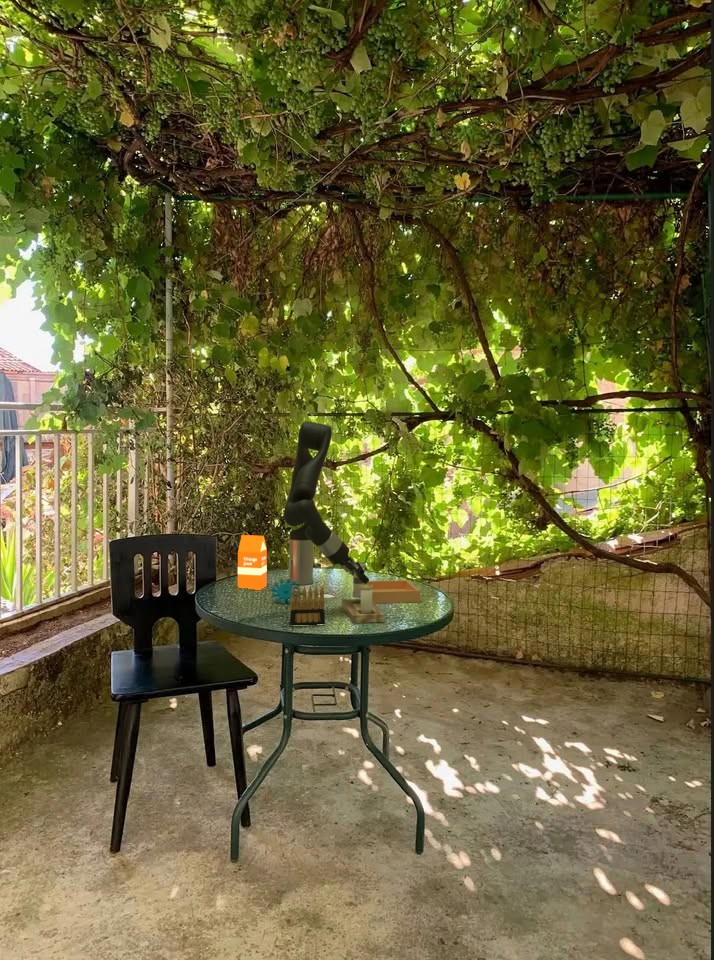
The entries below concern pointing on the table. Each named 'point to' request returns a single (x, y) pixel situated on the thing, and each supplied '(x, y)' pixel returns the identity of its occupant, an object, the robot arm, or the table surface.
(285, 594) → the gear
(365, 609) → the fuse
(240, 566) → the orange juice
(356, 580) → the white domed cylinder
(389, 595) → the parts tray
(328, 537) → the robot arm
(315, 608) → the ammunition clip
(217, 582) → the table surface
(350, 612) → the fuse block
